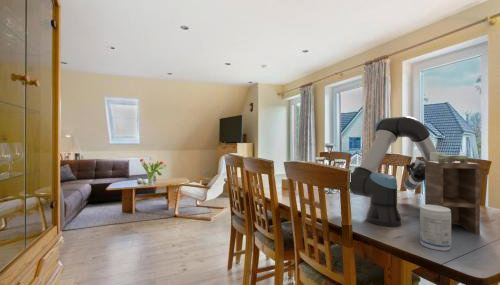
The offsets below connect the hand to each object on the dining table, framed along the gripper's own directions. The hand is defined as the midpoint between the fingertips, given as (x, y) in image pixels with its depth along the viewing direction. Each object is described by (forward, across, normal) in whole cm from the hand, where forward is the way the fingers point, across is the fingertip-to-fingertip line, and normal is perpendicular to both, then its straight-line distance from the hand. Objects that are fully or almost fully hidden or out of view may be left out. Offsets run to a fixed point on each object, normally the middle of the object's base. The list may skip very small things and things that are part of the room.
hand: (432, 161), depth 132 cm
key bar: (+11, +1, -5) cm, 12 cm away
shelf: (+2, +1, -35) cm, 35 cm away
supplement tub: (+23, +17, -48) cm, 56 cm away
